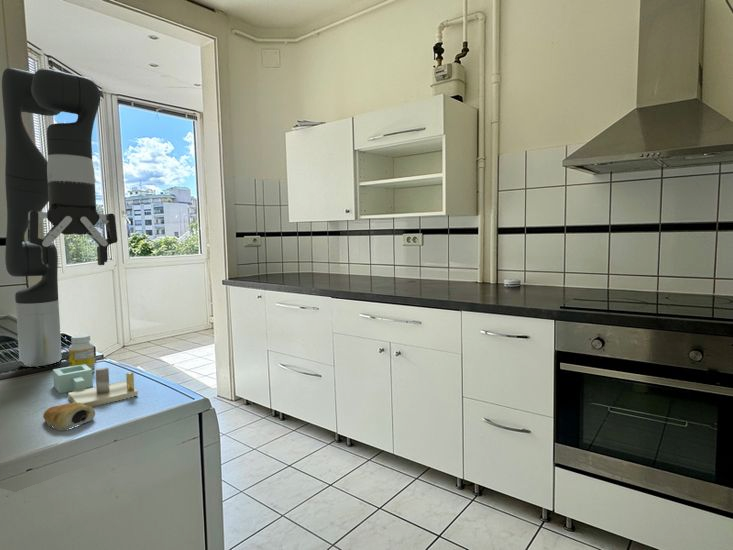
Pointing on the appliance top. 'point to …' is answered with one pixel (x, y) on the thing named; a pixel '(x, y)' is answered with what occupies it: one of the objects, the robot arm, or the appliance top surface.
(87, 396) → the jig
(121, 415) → the appliance top surface
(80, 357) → the supplement bottle
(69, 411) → the pastry
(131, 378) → the pin
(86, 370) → the pale green hollow block
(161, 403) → the appliance top surface
